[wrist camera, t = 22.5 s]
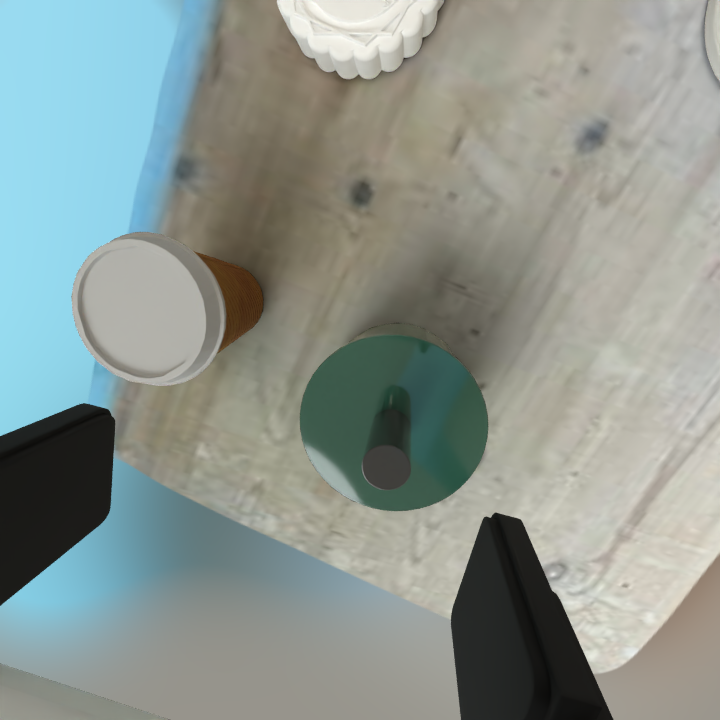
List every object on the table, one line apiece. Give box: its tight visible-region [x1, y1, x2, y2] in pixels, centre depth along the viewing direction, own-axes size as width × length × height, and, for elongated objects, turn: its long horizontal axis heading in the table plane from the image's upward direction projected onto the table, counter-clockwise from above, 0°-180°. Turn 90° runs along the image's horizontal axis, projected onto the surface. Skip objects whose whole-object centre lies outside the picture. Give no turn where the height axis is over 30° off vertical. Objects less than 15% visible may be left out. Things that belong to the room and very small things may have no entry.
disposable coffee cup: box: [72, 232, 263, 386], centre depth 29 cm, size 10×10×12 cm
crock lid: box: [300, 333, 488, 511], centre depth 23 cm, size 12×12×7 cm
